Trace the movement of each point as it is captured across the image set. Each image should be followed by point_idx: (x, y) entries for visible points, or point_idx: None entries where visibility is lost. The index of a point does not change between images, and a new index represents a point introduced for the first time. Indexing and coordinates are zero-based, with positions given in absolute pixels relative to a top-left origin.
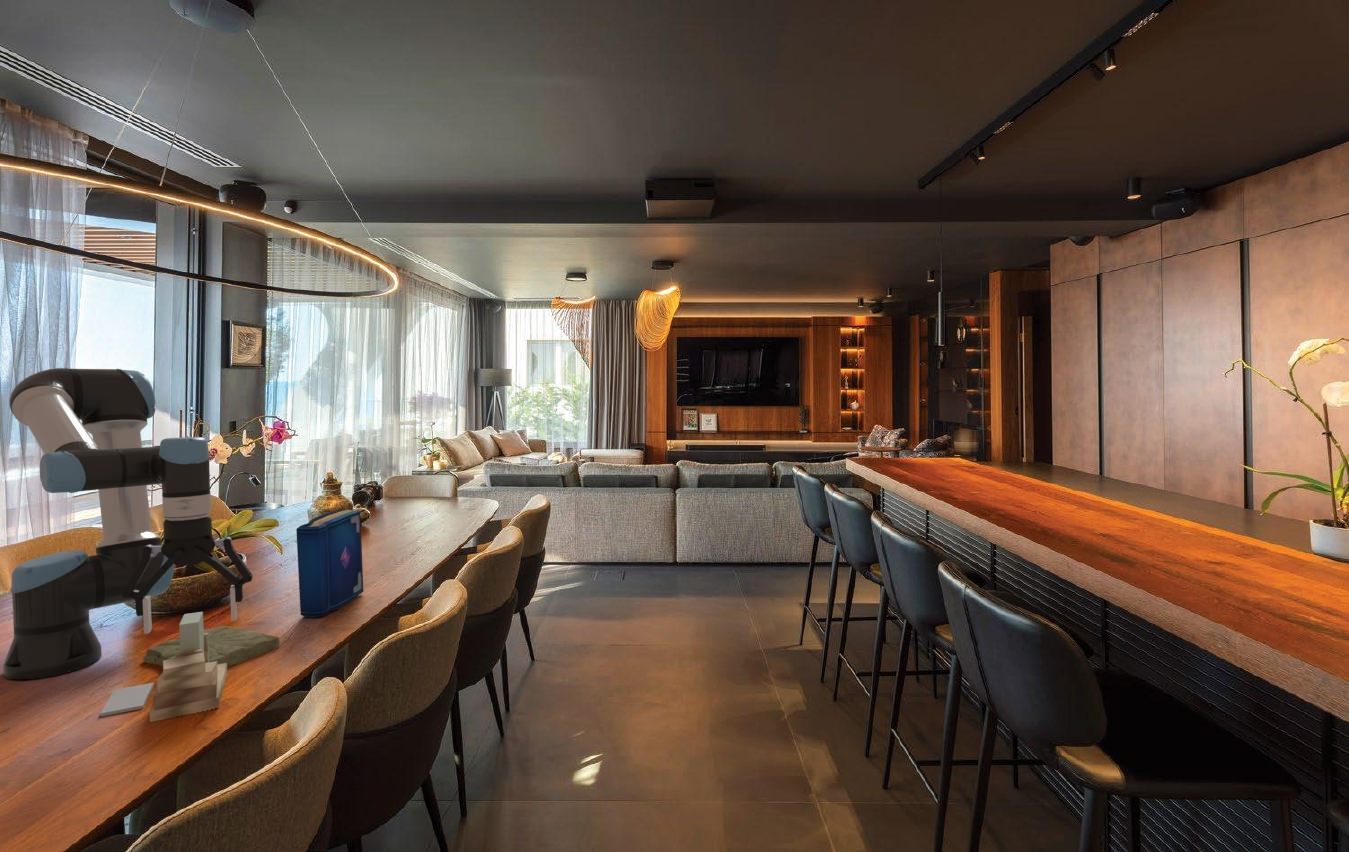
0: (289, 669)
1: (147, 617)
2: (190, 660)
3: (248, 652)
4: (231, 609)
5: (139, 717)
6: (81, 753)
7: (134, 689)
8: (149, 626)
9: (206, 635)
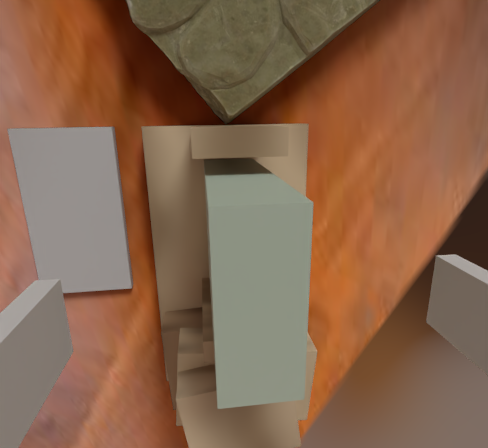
0: (442, 189)
1: (24, 428)
2: (260, 428)
3: (365, 11)
4: (472, 360)
5: (140, 330)
6: (82, 443)
7: (71, 160)
8: (57, 361)
9: (283, 155)
